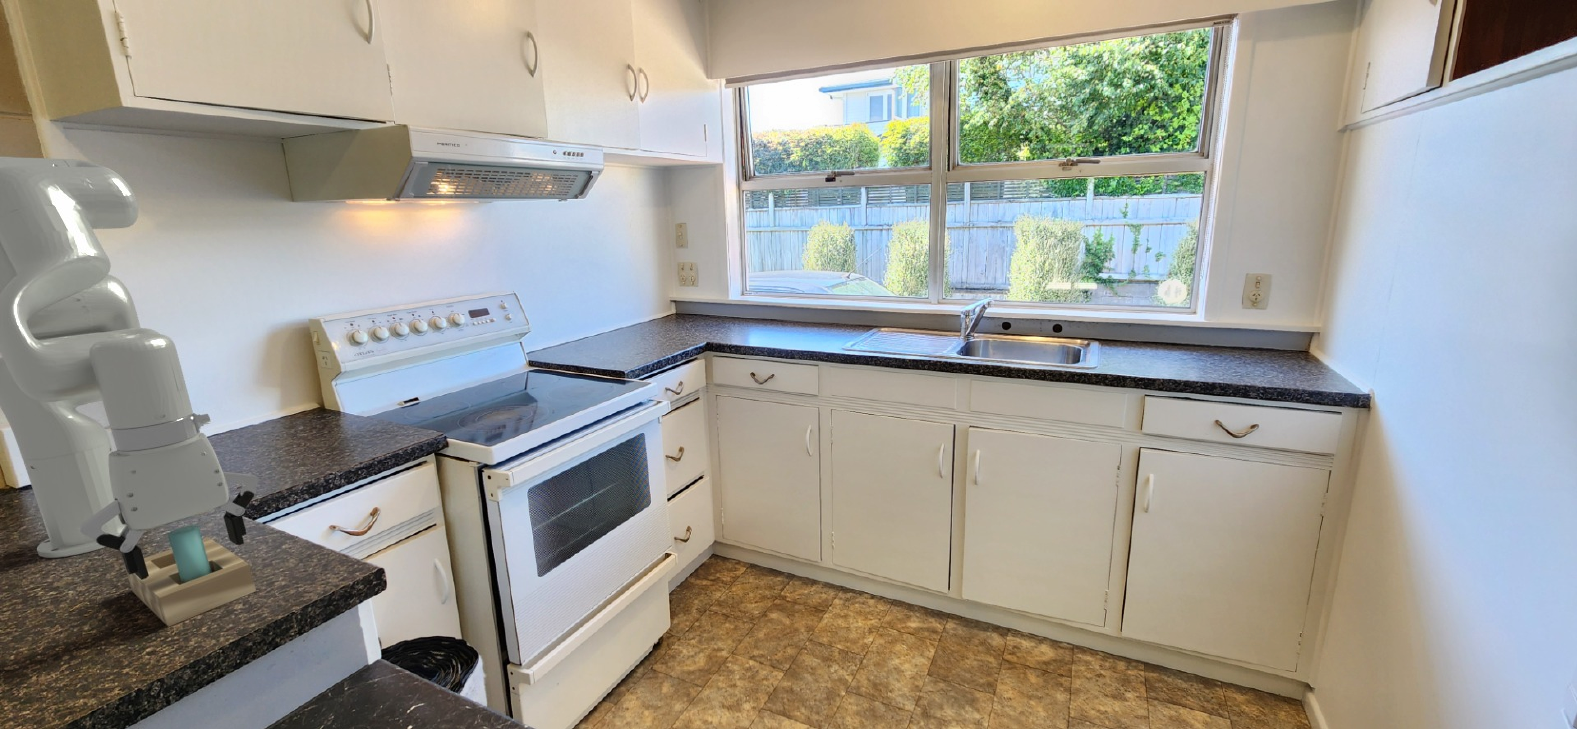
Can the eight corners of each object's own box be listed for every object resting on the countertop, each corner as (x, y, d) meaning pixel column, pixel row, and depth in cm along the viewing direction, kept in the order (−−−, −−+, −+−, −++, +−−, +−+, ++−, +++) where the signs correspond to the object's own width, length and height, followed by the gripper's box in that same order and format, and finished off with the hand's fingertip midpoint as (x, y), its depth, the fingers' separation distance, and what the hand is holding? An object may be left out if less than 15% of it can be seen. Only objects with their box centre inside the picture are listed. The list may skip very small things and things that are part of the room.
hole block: (132, 591, 90) (124, 565, 89) (215, 561, 97) (208, 536, 96) (168, 626, 81) (159, 597, 80) (256, 591, 88) (249, 564, 88)
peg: (184, 602, 87) (164, 532, 84) (213, 591, 89) (194, 523, 87) (192, 609, 85) (171, 538, 83) (221, 597, 87) (202, 528, 85)
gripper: (231, 411, 91) (260, 525, 95) (49, 451, 77) (91, 582, 81) (252, 418, 87) (281, 537, 91) (63, 462, 73) (107, 600, 77)
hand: (191, 558), depth 86 cm, fingers open, 9 cm apart
